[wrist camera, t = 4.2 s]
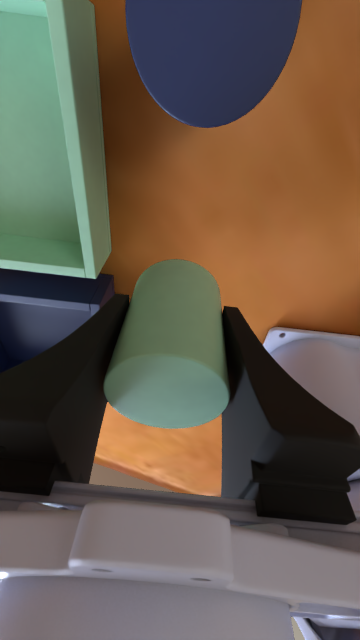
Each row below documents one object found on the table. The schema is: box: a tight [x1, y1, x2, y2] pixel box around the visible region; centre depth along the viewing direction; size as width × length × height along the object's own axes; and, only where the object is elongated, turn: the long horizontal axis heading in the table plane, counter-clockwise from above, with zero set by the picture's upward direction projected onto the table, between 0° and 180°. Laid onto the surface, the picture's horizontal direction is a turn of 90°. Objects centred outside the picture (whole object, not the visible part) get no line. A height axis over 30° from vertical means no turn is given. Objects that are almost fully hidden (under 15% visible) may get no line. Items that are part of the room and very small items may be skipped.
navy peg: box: [125, 0, 302, 128], centre depth 9 cm, size 4×4×6 cm
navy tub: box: [0, 268, 115, 402], centre depth 21 cm, size 11×11×4 cm
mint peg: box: [103, 259, 230, 429], centre depth 12 cm, size 4×4×6 cm
